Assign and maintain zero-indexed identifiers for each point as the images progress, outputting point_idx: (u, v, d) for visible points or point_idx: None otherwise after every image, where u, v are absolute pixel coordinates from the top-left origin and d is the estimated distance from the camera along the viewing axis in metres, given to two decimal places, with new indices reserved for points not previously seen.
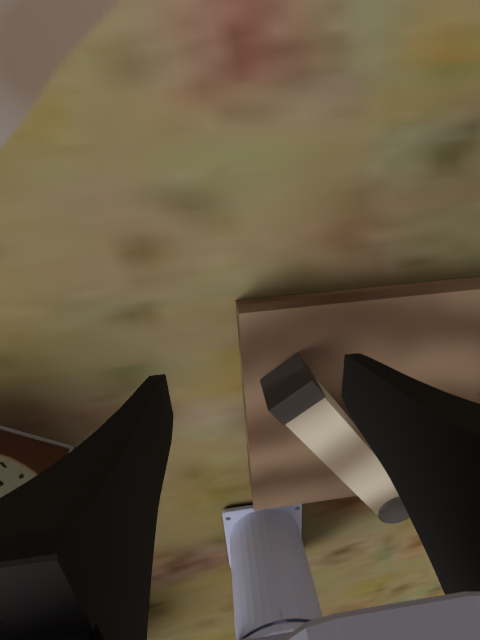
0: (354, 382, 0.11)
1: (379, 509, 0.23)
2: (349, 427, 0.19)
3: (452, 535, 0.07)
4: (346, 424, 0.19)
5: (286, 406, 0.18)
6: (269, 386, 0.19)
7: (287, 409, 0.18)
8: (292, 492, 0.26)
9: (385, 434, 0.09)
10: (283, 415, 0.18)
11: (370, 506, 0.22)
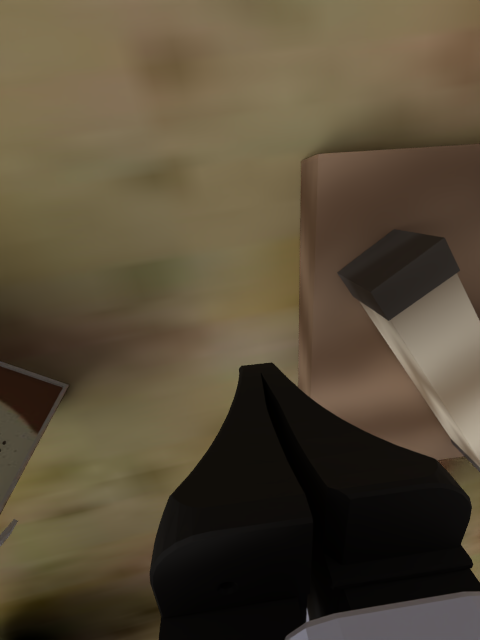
0: None
1: None
2: None
3: None
4: (478, 324, 0.12)
5: (397, 286, 0.11)
6: (359, 271, 0.13)
7: (399, 290, 0.11)
8: None
9: None
10: (391, 301, 0.12)
11: None
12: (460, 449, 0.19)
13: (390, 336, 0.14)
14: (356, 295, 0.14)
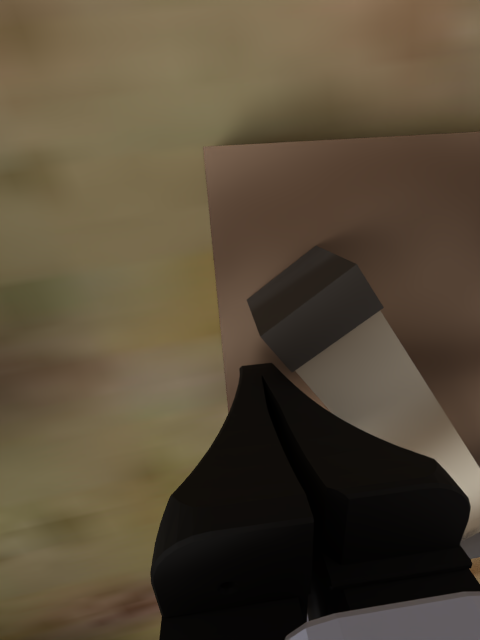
0: None
1: None
2: (421, 381, 0.10)
3: None
4: (417, 374, 0.09)
5: (299, 328, 0.08)
6: (264, 301, 0.10)
7: (301, 334, 0.08)
8: None
9: None
10: (292, 347, 0.08)
11: None
12: None
13: None
14: None
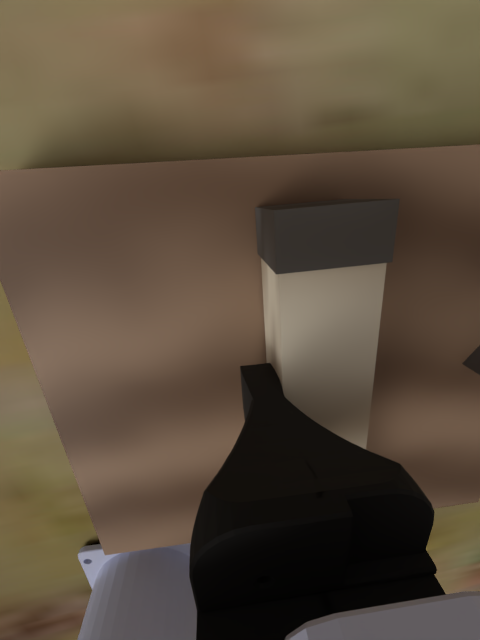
0: (244, 395, 0.11)
1: None
2: (372, 365, 0.09)
3: None
4: (373, 354, 0.09)
5: (312, 231, 0.08)
6: (279, 206, 0.09)
7: (311, 236, 0.07)
8: (164, 527, 0.16)
9: None
10: (294, 246, 0.08)
11: None
12: None
13: (271, 321, 0.10)
14: (260, 246, 0.10)
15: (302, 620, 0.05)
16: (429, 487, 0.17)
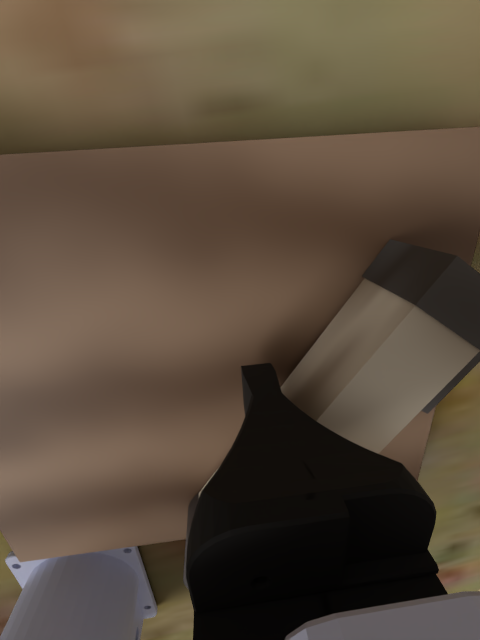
0: (245, 395, 0.11)
1: None
2: (406, 422, 0.10)
3: None
4: (413, 414, 0.10)
5: (461, 291, 0.08)
6: None
7: (459, 294, 0.08)
8: (77, 534, 0.15)
9: None
10: (444, 293, 0.08)
11: None
12: None
13: (347, 337, 0.10)
14: (379, 272, 0.10)
15: (304, 620, 0.05)
16: None
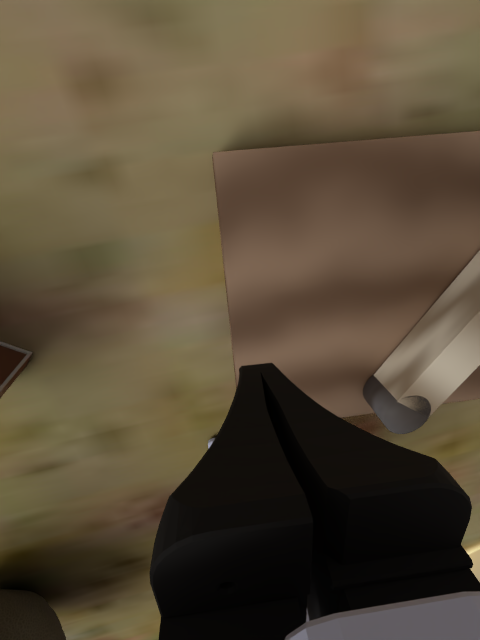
0: None
1: (409, 396, 0.19)
2: None
3: None
4: None
5: None
6: None
7: None
8: None
9: None
10: None
11: (414, 384, 0.19)
12: (377, 382, 0.21)
13: None
14: None
15: None
16: (473, 381, 0.23)
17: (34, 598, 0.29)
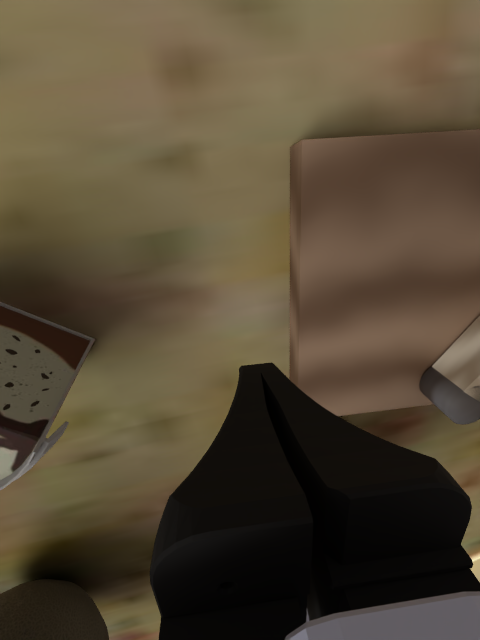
0: None
1: (475, 386, 0.19)
2: None
3: None
4: None
5: None
6: None
7: None
8: (342, 399, 0.23)
9: None
10: None
11: None
12: (437, 373, 0.21)
13: None
14: None
15: None
16: None
17: (75, 588, 0.29)
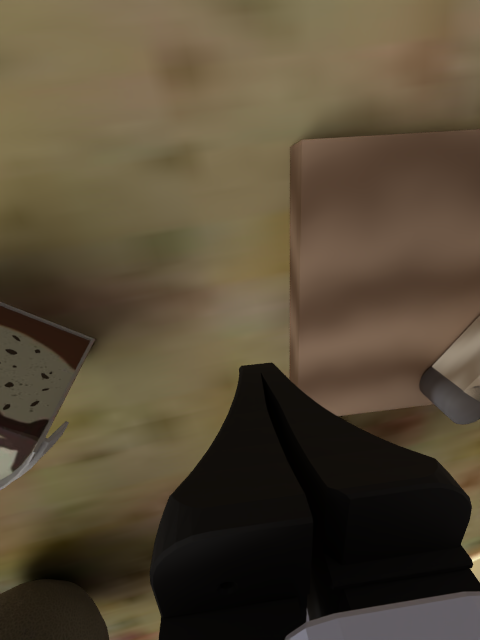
0: None
1: (475, 386, 0.19)
2: None
3: None
4: None
5: None
6: None
7: None
8: (342, 399, 0.23)
9: None
10: None
11: None
12: (437, 373, 0.21)
13: None
14: None
15: None
16: None
17: (75, 588, 0.29)
